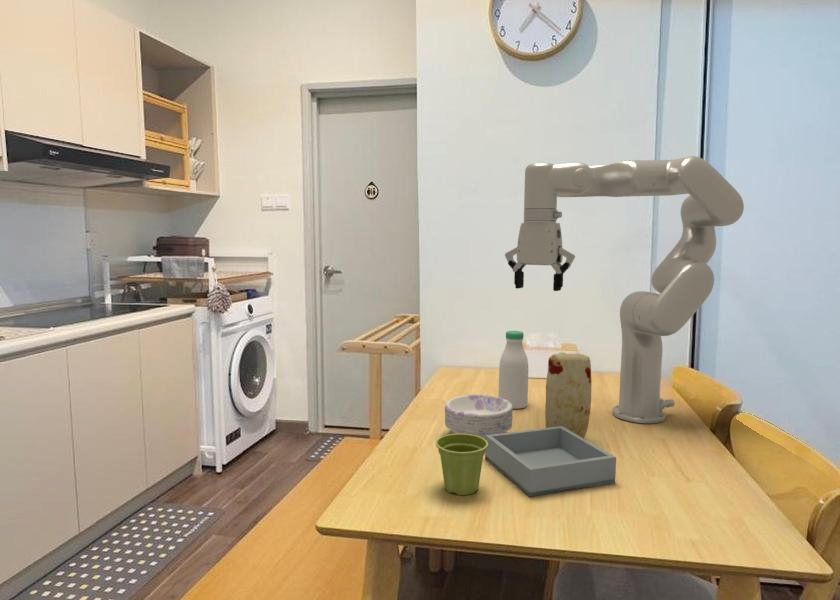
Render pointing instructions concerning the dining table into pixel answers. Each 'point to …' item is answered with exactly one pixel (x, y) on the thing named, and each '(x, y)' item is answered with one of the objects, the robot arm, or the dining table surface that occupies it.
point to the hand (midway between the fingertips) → (537, 289)
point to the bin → (549, 460)
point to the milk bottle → (514, 371)
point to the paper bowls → (478, 415)
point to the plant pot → (461, 461)
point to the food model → (568, 392)
